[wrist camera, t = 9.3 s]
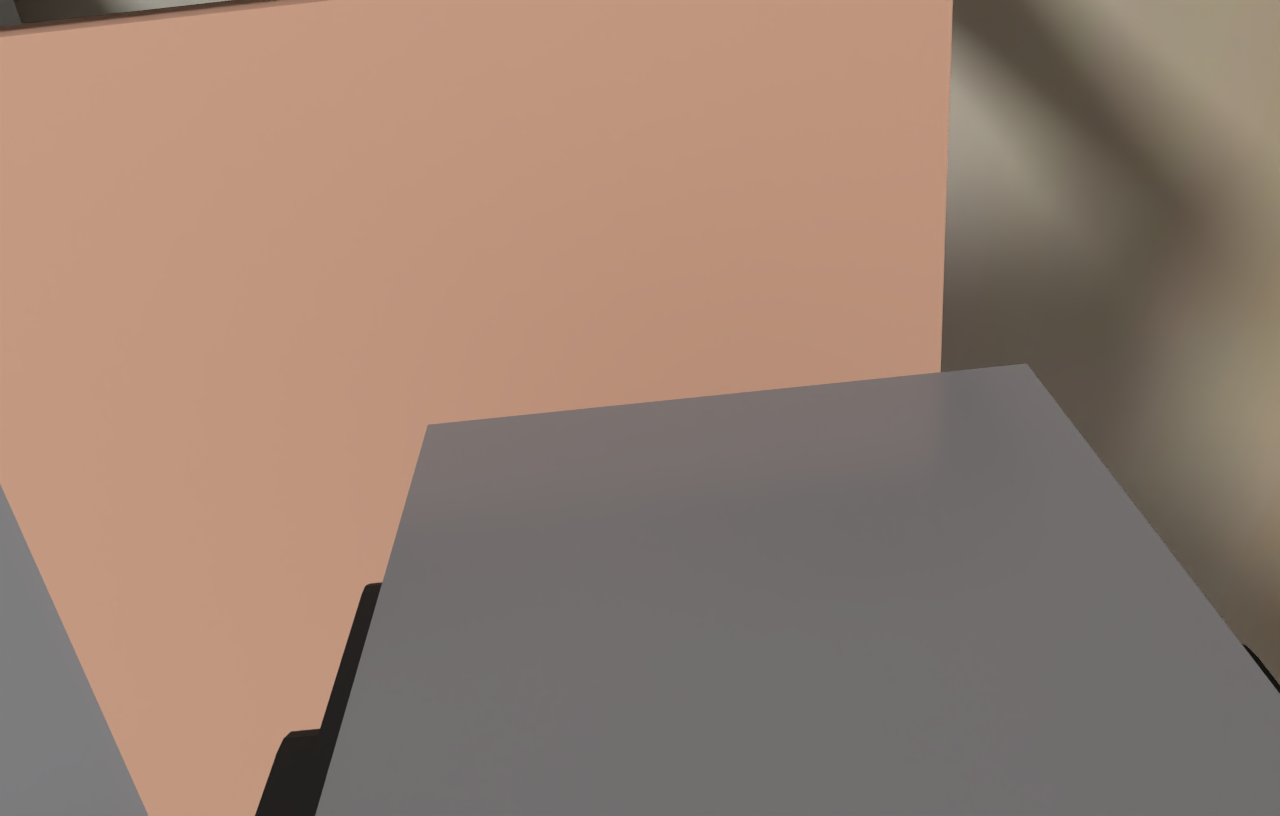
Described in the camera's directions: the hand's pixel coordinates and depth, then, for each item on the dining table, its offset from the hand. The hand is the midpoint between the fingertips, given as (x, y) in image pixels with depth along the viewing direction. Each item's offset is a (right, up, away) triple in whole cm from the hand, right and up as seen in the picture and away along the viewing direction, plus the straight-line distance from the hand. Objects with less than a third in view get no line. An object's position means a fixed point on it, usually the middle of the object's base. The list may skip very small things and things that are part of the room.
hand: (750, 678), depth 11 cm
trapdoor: (-6, +3, +8) cm, 11 cm away
